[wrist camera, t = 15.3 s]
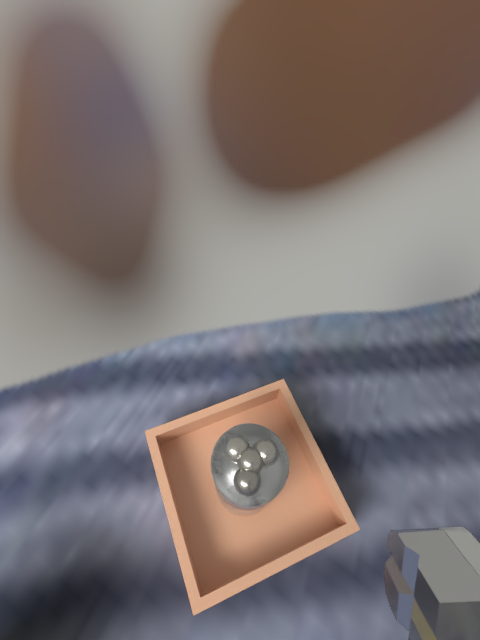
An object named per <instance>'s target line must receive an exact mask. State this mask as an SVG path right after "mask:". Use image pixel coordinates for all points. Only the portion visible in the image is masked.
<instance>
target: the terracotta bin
mask: <svg viewBox="0 0 480 640" xmlns="http://www.w3.org/2000/svg"><path fill="white" fill-rule="evenodd" d="M245 423H253V424H259V425H262V426H265V427H266V428H268V429H270V430H271V431H273V432H274V433H275V434H276V435H277V436H278V437H279V438H280V439H281V441H282V442H283V444H284V446H285V448H286V450H287V453H288V457H289V474H288V478H287V481H286V484H285V486H284V487H283V489H282V491H281V492H280V493H279V494H278V495H277V496H276V497H275V498H274V499H273V500H272V501H270V502H269V503H268V504H267V505H266V507H265V508H264V509H262V510H261V511H260V512H258V513H256V514H254V515H250V516H239V515H236V514H233V513H231V512H230V511H228V510H227V509H226V508H225V507H224V506H223V505H222V504H221V502H220V500H219V499H218V496H217V493H216V488H215V483H214V480H213V477H212V472H211V456H212V452H213V449H214V446H215V444H216V442H217V441H218V439H219V438H220V437H221V436H222V435H223V434H224V433H225V432H226V431H227V430H229V429H230V428H232V427H234V426H237V425H240V424H245ZM145 434H146V438H147V441H148V445H149V449H150V453H151V457H152V460H153V464H154V468H155V472H156V476H157V479H158V483H159V487H160V491H161V494H162V498H163V502H164V506H165V510H166V513H167V517H168V521H169V525H170V528H171V532H172V536H173V540H174V544H175V547H176V551H177V555H178V559H179V562H180V566H181V570H182V574H183V578H184V581H185V585H186V589H187V593H188V596H189V600H190V604H191V608H192V612H193V615H196V614H198V613H200V612H202V611H204V610H205V609H207V608H209V607H211V606H213V605H215V604H217V603H219V602H221V601H223V600H225V599H227V598H229V597H231V596H233V595H235V594H236V593H238V592H240V591H242V590H244V589H246V588H248V587H250V586H252V585H254V584H256V583H258V582H260V581H262V580H264V579H266V578H267V577H269V576H271V575H273V574H275V573H277V572H279V571H281V570H283V569H285V568H287V567H289V566H291V565H293V564H295V563H297V562H298V561H300V560H302V559H304V558H306V557H308V556H310V555H312V554H314V553H316V552H318V551H320V550H322V549H324V548H326V547H328V546H330V545H331V544H333V543H335V542H337V541H339V540H341V539H343V538H345V537H347V536H349V535H351V534H353V533H355V532H357V531H359V530H360V528H359V526H358V524H357V522H356V520H355V518H354V516H353V514H352V512H351V510H350V508H349V507H348V505H347V503H346V501H345V499H344V497H343V495H342V493H341V491H340V489H339V487H338V485H337V483H336V481H335V479H334V477H333V475H332V473H331V471H330V469H329V467H328V465H327V463H326V461H325V459H324V457H323V455H322V453H321V451H320V449H319V447H318V445H317V443H316V441H315V439H314V438H313V436H312V434H311V432H310V430H309V428H308V426H307V424H306V422H305V420H304V418H303V416H302V414H301V412H300V410H299V408H298V406H297V404H296V402H295V400H294V398H293V396H292V394H291V392H290V390H289V388H288V386H287V384H286V382H285V380H284V379H282V380H279V381H276V382H274V383H271V384H268V385H266V386H263V387H260V388H258V389H255V390H253V391H250V392H247V393H245V394H242V395H239V396H237V397H234V398H231V399H229V400H226V401H224V402H221V403H218V404H216V405H213V406H210V407H208V408H205V409H202V410H200V411H197V412H194V413H192V414H189V415H187V416H184V417H181V418H179V419H176V420H173V421H171V422H168V423H165V424H163V425H160V426H158V427H155V428H152V429H150V430H147V431H145Z"/></svg>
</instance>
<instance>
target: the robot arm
mask: <svg viewBox="0 0 480 640" xmlns="http://www.w3.org/2000/svg"><path fill="white" fill-rule="evenodd" d="M387 548H388V550H389V551H390V553H391V555H392V556H391V557H390V559H389V560H388V561H387V562H386V563H385V568H384V582H385V589H386V595H387V598H388V601H389V604H390V607H391V609H392V611H393V614H394V616H395V618H396V620H397V621H398V622H399V623H400V624H401V625H403V626H404V627H405V628H406V629H407V630H408V631H409V638H408V640H480V543H479V542H478V541H477V540H476V539H475V538H474V536H473V535H472V534H471V533H470V532H469V531H468V530H466V529H465V528H463V527H445V528H437V529H436V528H429V529H405V530H391V531H390V533H389V535H388V539H387Z"/></svg>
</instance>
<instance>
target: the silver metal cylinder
mask: <svg viewBox="0 0 480 640" xmlns="http://www.w3.org/2000/svg"><path fill="white" fill-rule="evenodd" d="M211 472H212V477H213V480H214V483H215V488H216V493H217V496H218V499H219V500H220V502H221V504H222V505H223V506H224V507H225V508H226V509H227V510H228V511H230V512H231V513H233V514H236V515H239V516H250V515H254V514H256V513H258V512H260V511H261V510H262V509H264V508H265V507H266V505H267V504H268V503H269V502H270V501H272V500H273V499H274V498H275V497H276V496H277V495H278V494H279V493H280V492H281V491H282V489H283V487H284V486H285V484H286V481H287V478H288V474H289V457H288V453H287V450H286V448H285V446H284V444H283V442H282V441H281V439H280V438H279V437H278V436H277V435H276V434H275V433H274V432H273V431H271V430H270V429H268V428H266V427H265V426H262V425H259V424H253V423H245V424H240V425H237V426H234V427H232V428H230V429H229V430H227V431H226V432H225V433H224V434H223V435H222V436H221V437H220V438H219V439H218V441H217V442H216V444H215V446H214V449H213V452H212V456H211Z"/></svg>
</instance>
